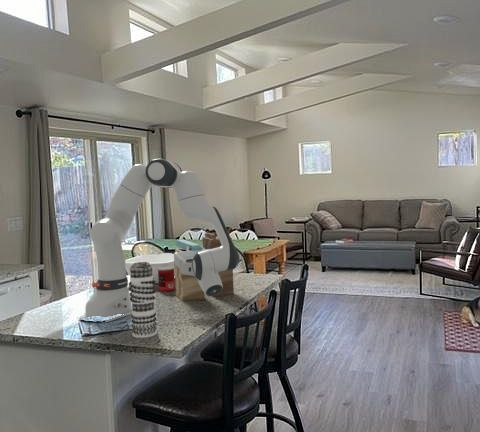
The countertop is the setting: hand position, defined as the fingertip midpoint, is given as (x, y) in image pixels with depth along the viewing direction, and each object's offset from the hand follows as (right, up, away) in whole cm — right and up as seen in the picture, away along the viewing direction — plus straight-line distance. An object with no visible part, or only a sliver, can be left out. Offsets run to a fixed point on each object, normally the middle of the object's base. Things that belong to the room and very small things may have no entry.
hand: (193, 246), depth 221 cm
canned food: (-15, -23, +26) cm, 38 cm away
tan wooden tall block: (-2, -23, +10) cm, 25 cm away
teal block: (-3, -1, +8) cm, 9 cm away
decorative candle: (-13, -28, -44) cm, 54 cm away
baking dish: (-25, -22, +49) cm, 59 cm away
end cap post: (+11, -22, +15) cm, 29 cm away
